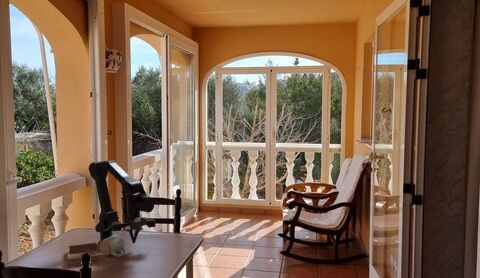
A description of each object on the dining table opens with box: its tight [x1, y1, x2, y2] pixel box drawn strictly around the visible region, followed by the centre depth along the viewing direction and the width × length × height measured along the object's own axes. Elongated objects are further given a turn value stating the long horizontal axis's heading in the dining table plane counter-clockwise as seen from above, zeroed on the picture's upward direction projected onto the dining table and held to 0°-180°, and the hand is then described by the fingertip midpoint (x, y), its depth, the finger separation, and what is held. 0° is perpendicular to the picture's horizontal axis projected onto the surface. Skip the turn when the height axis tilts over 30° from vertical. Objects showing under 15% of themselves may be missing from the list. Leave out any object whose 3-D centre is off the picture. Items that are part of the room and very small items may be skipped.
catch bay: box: [67, 242, 100, 267], centre depth 166 cm, size 17×12×3 cm
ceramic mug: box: [99, 234, 126, 258], centre depth 170 cm, size 11×8×8 cm
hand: (133, 243), depth 174 cm, fingers closed
